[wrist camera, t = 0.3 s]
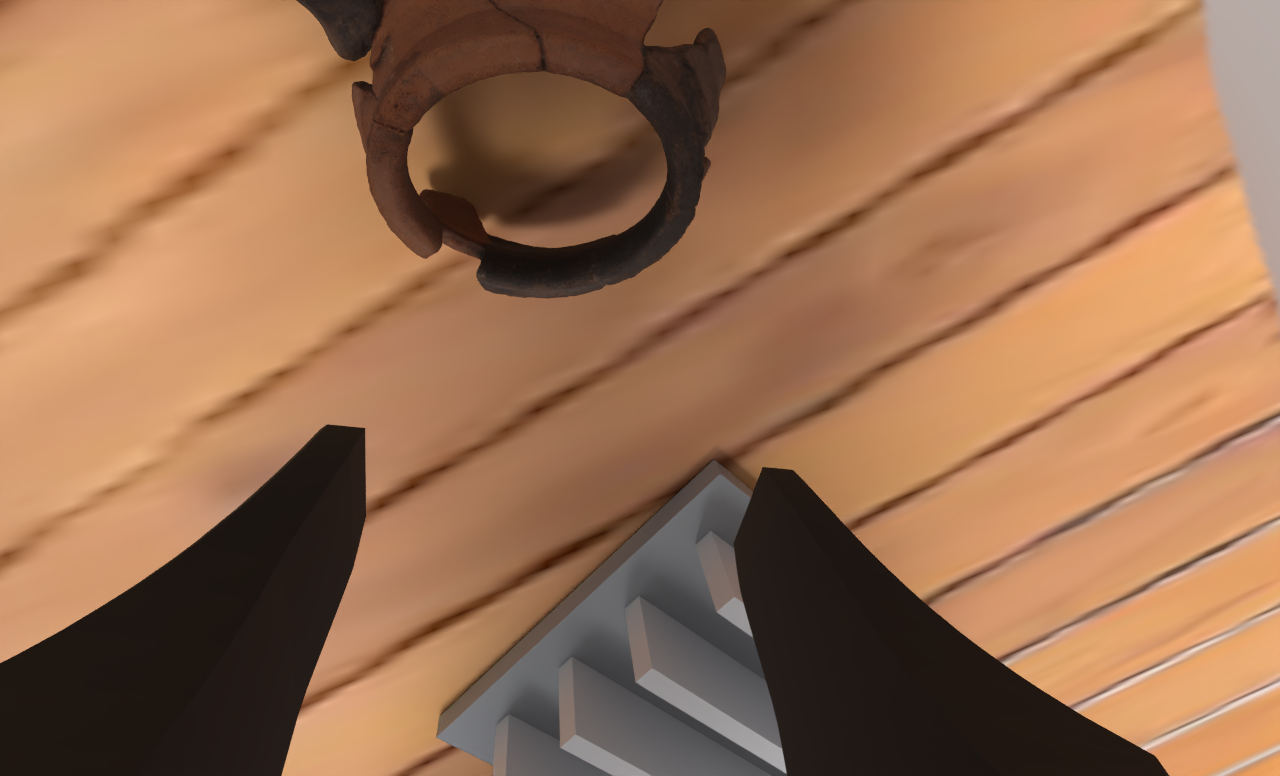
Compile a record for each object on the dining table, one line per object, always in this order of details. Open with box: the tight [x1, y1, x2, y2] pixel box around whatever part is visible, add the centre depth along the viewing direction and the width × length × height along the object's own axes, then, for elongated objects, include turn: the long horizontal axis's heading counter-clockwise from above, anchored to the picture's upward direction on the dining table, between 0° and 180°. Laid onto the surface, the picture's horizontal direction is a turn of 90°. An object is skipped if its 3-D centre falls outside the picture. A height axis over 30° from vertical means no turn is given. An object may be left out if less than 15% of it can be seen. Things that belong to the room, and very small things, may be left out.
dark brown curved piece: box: [296, 0, 726, 298], centre depth 17 cm, size 12×10×8 cm
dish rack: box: [436, 459, 787, 776], centre depth 29 cm, size 16×22×4 cm
